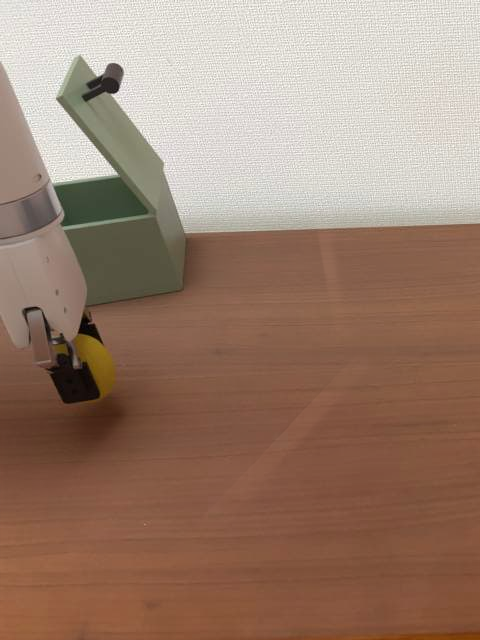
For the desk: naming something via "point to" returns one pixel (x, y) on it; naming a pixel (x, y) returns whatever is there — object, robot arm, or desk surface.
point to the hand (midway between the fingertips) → (86, 378)
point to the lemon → (94, 363)
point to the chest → (122, 239)
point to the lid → (112, 128)
